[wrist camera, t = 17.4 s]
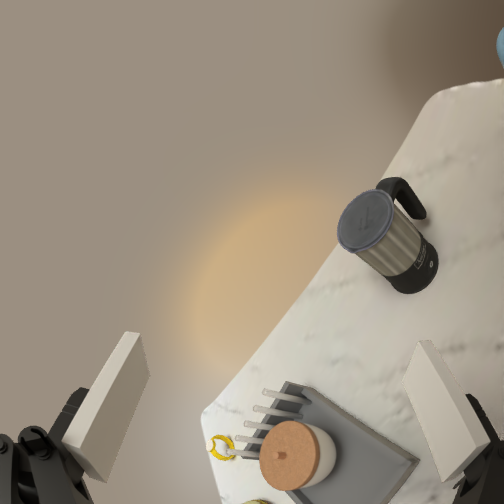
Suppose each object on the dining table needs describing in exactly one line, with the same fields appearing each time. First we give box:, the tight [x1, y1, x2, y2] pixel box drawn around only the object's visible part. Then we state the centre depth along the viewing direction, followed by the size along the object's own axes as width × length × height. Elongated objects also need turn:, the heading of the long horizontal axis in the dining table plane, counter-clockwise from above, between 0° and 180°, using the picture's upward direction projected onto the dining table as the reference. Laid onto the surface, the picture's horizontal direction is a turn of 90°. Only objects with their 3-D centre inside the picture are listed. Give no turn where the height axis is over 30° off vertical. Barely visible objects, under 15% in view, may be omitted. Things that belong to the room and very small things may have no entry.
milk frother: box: [337, 177, 438, 294], centre depth 43 cm, size 14×16×15 cm
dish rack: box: [227, 381, 420, 504], centre depth 33 cm, size 16×24×11 cm, turn 43°
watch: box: [206, 435, 234, 461], centre depth 53 cm, size 6×3×6 cm, turn 21°
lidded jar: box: [259, 421, 337, 491], centre depth 35 cm, size 11×11×9 cm
